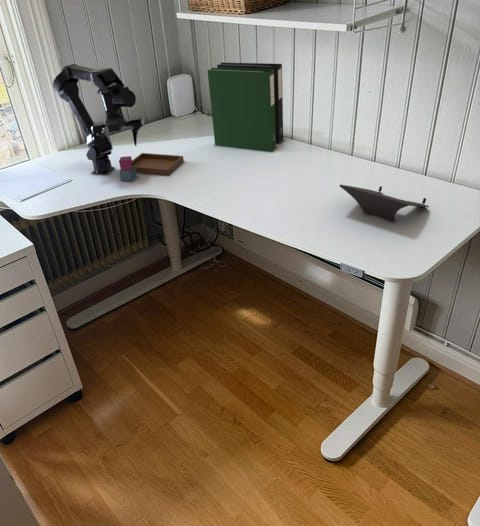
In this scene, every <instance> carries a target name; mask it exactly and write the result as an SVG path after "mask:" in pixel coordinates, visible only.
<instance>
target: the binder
mask: <svg viewBox="0 0 480 526" xmlns="http://www.w3.org/2000/svg"><path fill="white" fill-rule="evenodd" d="M206 72H207V79H208V88H209V89H208V91H209V98H210V109H211V118H212V119H211V120H212V129H213V135H214V136H213V139H214V146H216V147H225V148H233V149H242V150H251V151H260V152H267V153H268V152H269V153H270V152H271V153H272V152H274V150H276V148H277V145H280V144H281V143H282V142H283V141H284V108H283V107H284V102H283V99H284V98H283V63H268V62H267V63H261V62H259V63H258V62H220V64H219V63H218V64H216V67H211V68H210V69H207V71H206Z"/></svg>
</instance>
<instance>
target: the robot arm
mask: <svg viewBox="0 0 480 526" xmlns="http://www.w3.org/2000/svg"><path fill="white" fill-rule="evenodd" d="M80 80H81V81H85V82H88V83H89V82H90V83H92V86H94V87H96V88H98V89H97V91H96V94H97V95H101V98H102V102H103V105H104V110H105V116H106V118H105V122H104V121H97V122H94V120H93V119H92V117H91V114H90V113H89V112H88V110H87V108H86V106H85V104H84V103H83V101H82V99H81V97H80V87H79V85H78V83H79V81H80ZM52 88H53V90H54V91H55V93H56V95H58V97H59V98H60V99H61V100H63V101H65V102H66V103H67V104H68V106H69V108H70V110H71V111H72V113H73V115H74V116H75V118H76V120H77V122H78V123H79V125H80V128H82V130H83V132H84V134H85V135H86V145H87V147H88V149H87V152H86V153H85V156H86V158H87V160H89V161H91V162H92V166H93V170H92V174H95V175H107V174H108V173H110V172H111V171H112V170H114V168H115V167H114V166H112V162H111V159H110V155H112V150H113V149H114V148H113V143H112V141H111V137H110V134H109V133H113V132H120V131H121V130H122V128H125V127H132V128H131V132H132V139H133V144H134V146H135V147H136V146H137V144H138V133H139V130H141V128H143V127H144V124H145V121H144V120H145V119H144V117H143V116H142V115H137V116H132V117H131V118H130V120H126V118H125V116H124V112H123V108H132V107H134V106H135V105H136V101H137V97H136V94H135V93H134V92H133V91H132V90H131V89H130V87H129V86H127V85H126V86H125V84H124V83H123V81H122V80H121V78H120V77H119V76H118V74H117V73H116V72H115V71H114V69H113V68H111V67H103V68H92V67H88V66H82V65H78V64H76V63H71V64H68V65H64V67H63V68H62V70H61V71H59V73H58V74H57V75H56V76H55V77H54V79H53V81H52Z"/></svg>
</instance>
